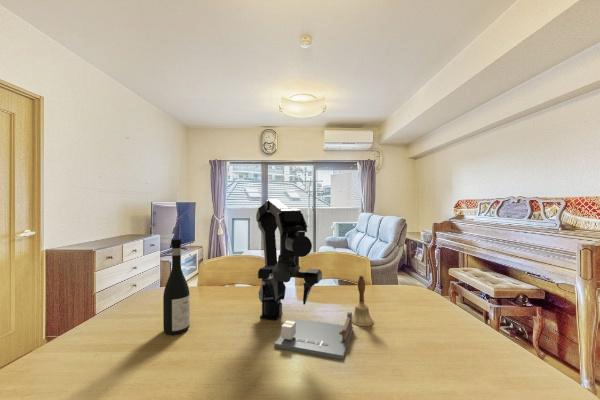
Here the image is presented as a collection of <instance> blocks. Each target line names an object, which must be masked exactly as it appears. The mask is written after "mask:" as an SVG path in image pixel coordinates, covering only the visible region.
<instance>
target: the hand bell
mask: <svg viewBox="0 0 600 400" xmlns="http://www.w3.org/2000/svg"><path fill="white" fill-rule="evenodd" d="M357 289H358V292H359V293H358V294H359V299H358V300H359V303H356V304H355V306H354V307H355V309H354V313H352V325H355V326H357V327H371V326H372V325H374V323H375V321H374V318H373V317H371V315H370V311H369V306H368V305H367V304H366V303H365V291H366V280H365V279H364V275H359V277H358V281H357Z"/></svg>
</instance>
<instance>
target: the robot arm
mask: <svg viewBox="0 0 600 400" xmlns="http://www.w3.org/2000/svg"><path fill="white" fill-rule="evenodd" d="M255 219H256V223H257V226H258V229H259V230H260V232H261V233H262V236H263V237H262V238H263V255H264V257H263V258H264V266H262V267H260V268H259V269H258V271H257V279H260V280H261V285H260V287H259V290H258V299H259V301H260V302H261V315H260V316H259V318H260V319H266V320H272V321H277V320H278V319H279V318H280V317H281V316H282V315H283V314H284V313H283V303H282V301H283V300H285V295H286V289H287V286H286V285H285V283H288V282H289V283H290V281H291V279H292V278H295V279H303V280H304V283H303V284H302V286H303V295H302V303H303V306H305V305H306V303H307V301H308V297H309V296H310V293H311V290H312V287H314V286H315V285H316V284H319V283H320V282H321V280H322V279H323V271H321V269H318V268H308V269H306V271H301V266H300V258H304V257H307V256H308V255H309V254H310V253H311V251H312V249H313V245H312V244H313V243H312V241H311V239H310V238H309V237H308V236H307V235H306V233H308V225H307V222H306V220H305V217H304V214H303V212H302V211H301V209H300V208H295V207H292V208H291V207H288V206H287V205H285V204H284V203H282V202H281V200H279V199H266V200H265V202H264V204H262V205H261V206H259V207H258V208H257V211H256V215H255ZM277 229H278V230H279V254H277V242H276V241H277V239H276V230H277Z"/></svg>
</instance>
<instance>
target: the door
mask: <svg viewBox="0 0 600 400" xmlns="http://www.w3.org/2000/svg"><path fill="white" fill-rule="evenodd" d="M343 325H344V327H343V329H342V331H340V333H339V334H340V335H342V342H346V340H347V337H348V334H349V331H350V328H351V317H347V316H346V319H345V321H344V324H343Z"/></svg>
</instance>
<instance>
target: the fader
mask: <svg viewBox="0 0 600 400" xmlns="http://www.w3.org/2000/svg"><path fill="white" fill-rule="evenodd" d="M295 334H296V322H294V320H285V322H284V323H283V324H282V325H281V335H282V338H283V339H289V340H291V339H292V338H293V337H294V335H295Z"/></svg>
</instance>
